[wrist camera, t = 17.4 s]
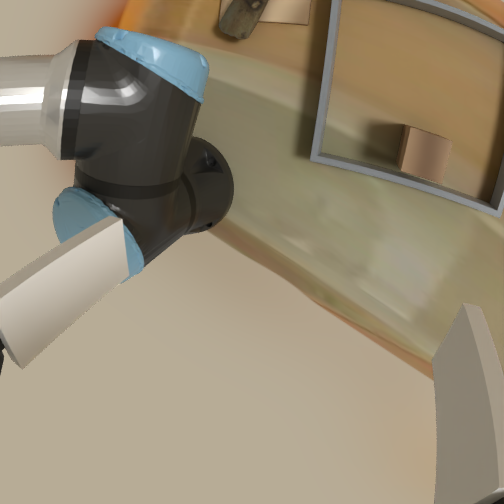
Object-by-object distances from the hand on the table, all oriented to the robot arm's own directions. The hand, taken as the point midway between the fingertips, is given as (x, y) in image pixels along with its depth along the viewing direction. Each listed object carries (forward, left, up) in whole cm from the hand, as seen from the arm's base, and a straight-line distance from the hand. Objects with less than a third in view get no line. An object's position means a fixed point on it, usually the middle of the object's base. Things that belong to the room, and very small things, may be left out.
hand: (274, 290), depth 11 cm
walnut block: (+9, +3, -32) cm, 33 cm away
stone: (-9, +21, -31) cm, 38 cm away
